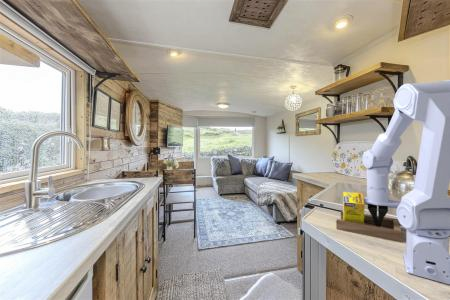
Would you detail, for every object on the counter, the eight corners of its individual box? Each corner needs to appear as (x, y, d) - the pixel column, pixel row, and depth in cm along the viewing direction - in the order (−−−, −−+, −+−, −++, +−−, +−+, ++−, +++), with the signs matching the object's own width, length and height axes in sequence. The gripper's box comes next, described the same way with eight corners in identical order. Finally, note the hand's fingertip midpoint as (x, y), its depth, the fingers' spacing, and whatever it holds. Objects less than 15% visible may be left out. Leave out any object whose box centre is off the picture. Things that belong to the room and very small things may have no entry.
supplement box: (364, 229, 68) (365, 204, 64) (343, 226, 71) (343, 202, 67) (362, 217, 73) (362, 192, 69) (343, 214, 76) (342, 191, 72)
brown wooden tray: (401, 242, 59) (401, 232, 59) (336, 229, 70) (336, 220, 69) (398, 227, 68) (398, 219, 68) (341, 217, 78) (341, 210, 78)
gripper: (405, 186, 65) (406, 227, 65) (352, 182, 74) (353, 218, 74) (407, 192, 59) (408, 236, 60) (350, 187, 68) (351, 225, 69)
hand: (378, 227), depth 67 cm, fingers closed
